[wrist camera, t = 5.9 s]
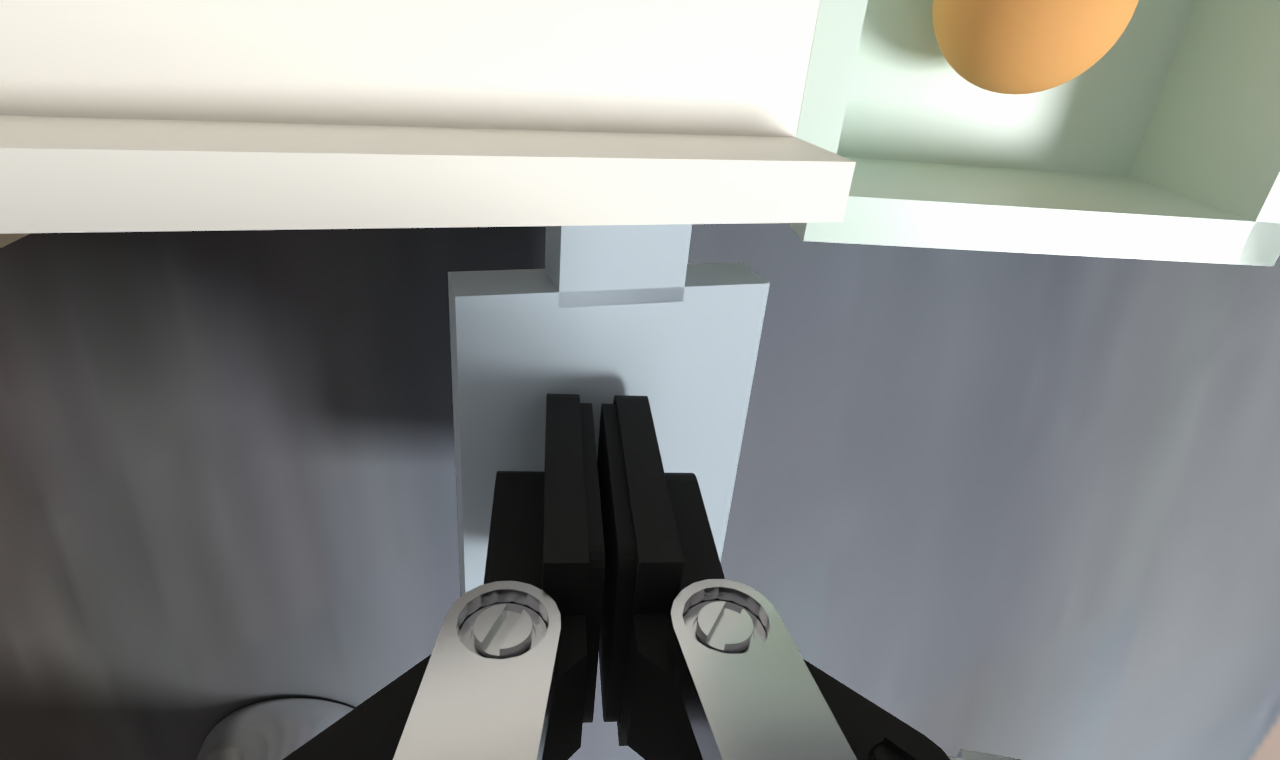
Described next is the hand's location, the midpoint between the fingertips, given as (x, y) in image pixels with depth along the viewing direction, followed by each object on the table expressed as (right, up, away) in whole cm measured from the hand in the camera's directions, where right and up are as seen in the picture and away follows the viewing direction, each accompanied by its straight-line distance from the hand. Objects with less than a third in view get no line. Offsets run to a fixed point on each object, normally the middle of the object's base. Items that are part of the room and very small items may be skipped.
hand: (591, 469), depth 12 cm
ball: (+8, +8, 0) cm, 11 cm away
